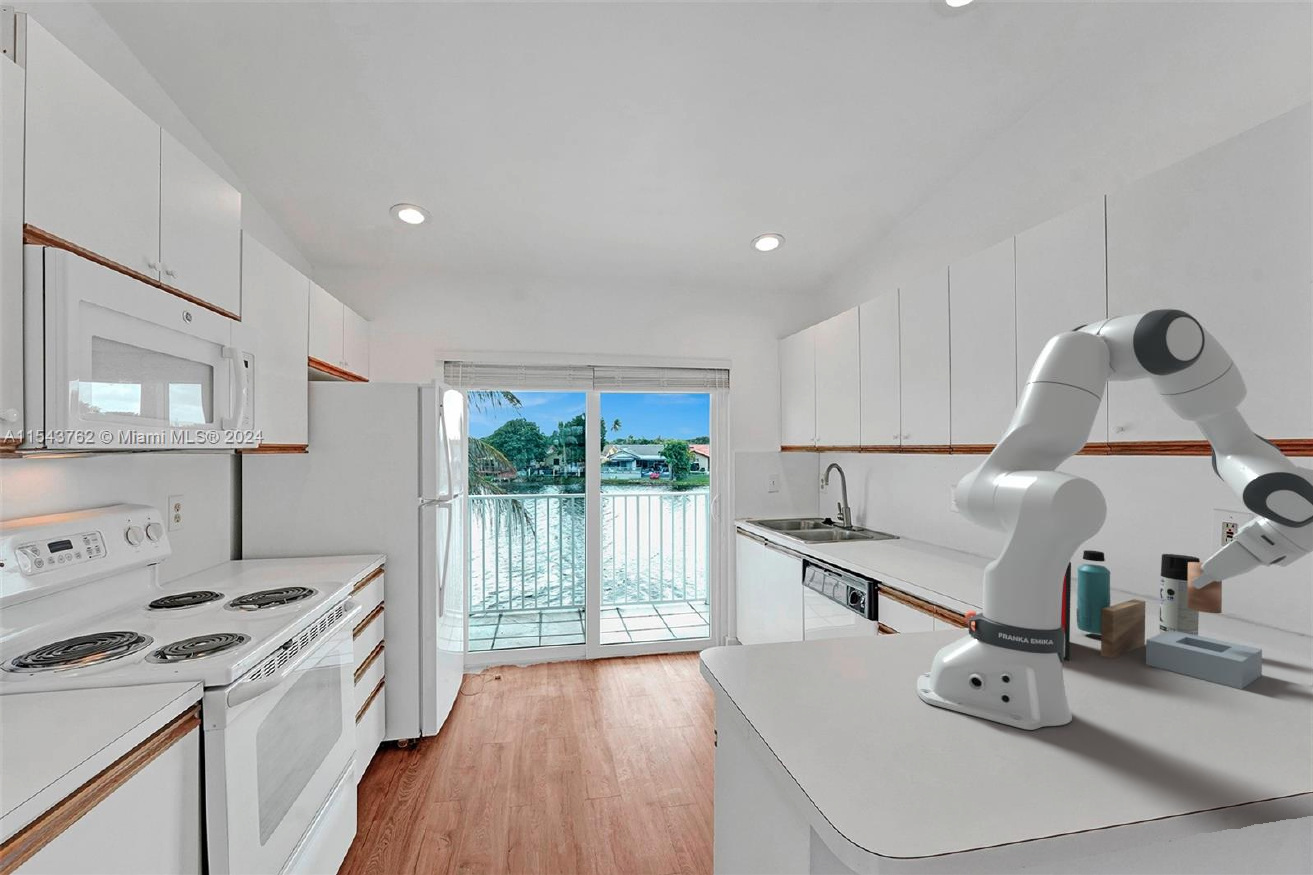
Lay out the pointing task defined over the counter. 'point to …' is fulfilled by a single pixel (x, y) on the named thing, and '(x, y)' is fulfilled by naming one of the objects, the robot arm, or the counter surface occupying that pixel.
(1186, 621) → the spray can
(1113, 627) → the backstop board
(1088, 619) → the beverage bottle
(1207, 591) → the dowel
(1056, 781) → the counter surface
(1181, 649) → the square socket block
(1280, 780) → the counter surface
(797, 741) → the counter surface
